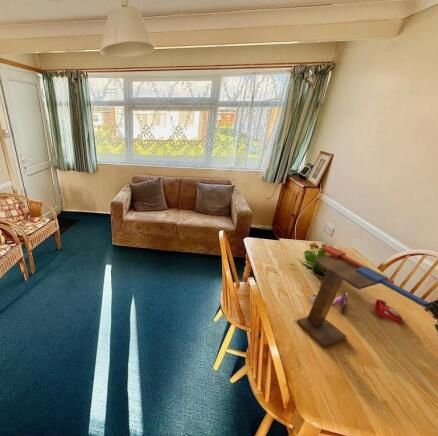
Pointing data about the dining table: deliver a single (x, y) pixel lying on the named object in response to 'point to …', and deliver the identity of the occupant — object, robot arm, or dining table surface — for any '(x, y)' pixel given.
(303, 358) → the dining table surface
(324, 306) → the shelf stand
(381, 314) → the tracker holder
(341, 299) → the pink toy figure
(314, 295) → the grey flat lumpy piece
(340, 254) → the red spatula
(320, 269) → the potted flower
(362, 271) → the blue paddle stick
